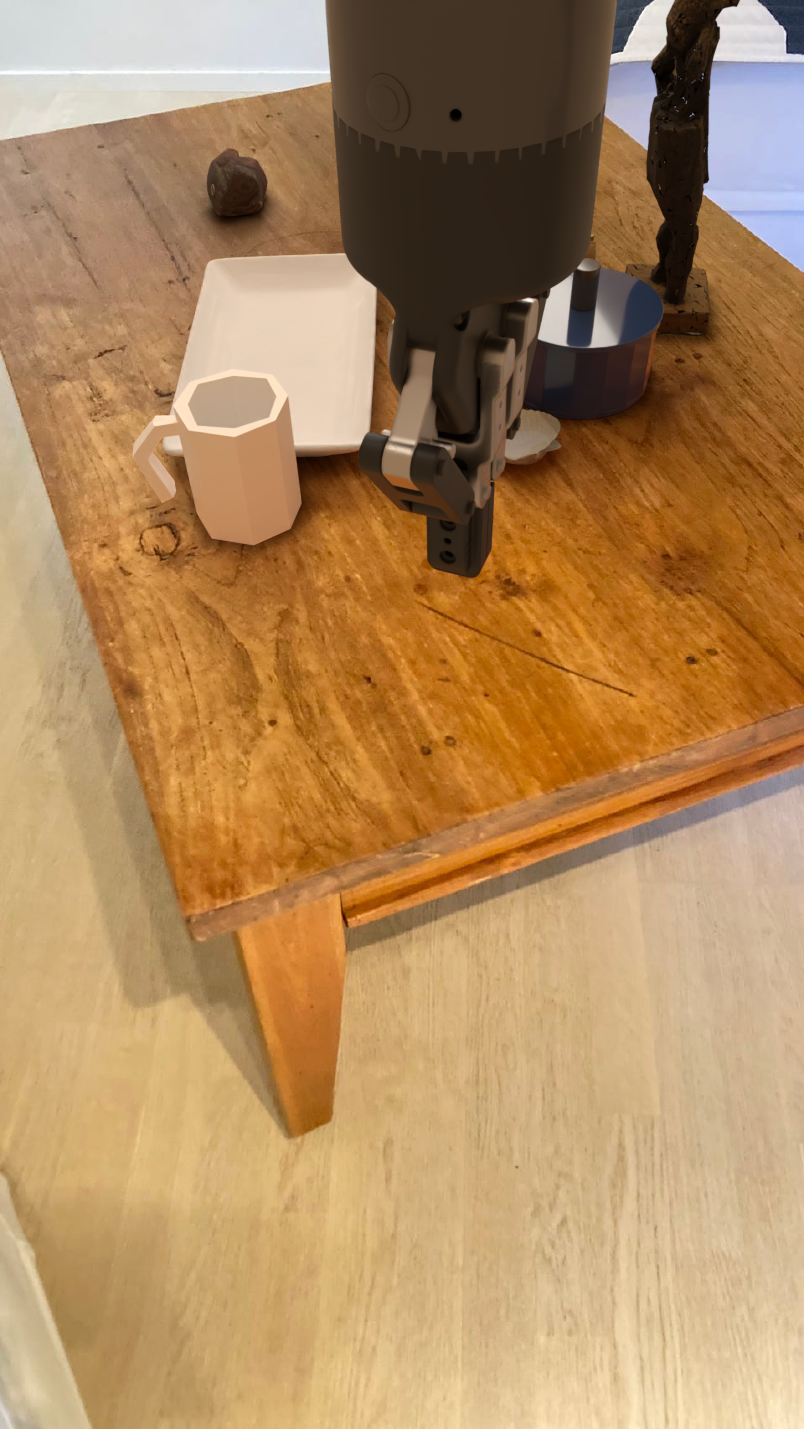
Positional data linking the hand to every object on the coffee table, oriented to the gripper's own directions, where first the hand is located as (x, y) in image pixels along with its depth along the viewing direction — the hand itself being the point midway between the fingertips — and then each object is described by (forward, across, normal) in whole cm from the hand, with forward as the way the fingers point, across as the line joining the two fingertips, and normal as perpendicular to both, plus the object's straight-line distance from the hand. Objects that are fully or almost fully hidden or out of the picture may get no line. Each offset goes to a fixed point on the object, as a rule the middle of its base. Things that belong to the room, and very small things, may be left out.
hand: (459, 561), depth 42 cm
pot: (+25, +53, +7) cm, 59 cm away
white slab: (+25, +45, +32) cm, 61 cm away
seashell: (+25, +41, +9) cm, 49 cm away
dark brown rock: (+25, +74, +51) cm, 93 cm away
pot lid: (+18, +53, +7) cm, 56 cm away
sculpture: (+25, +67, +2) cm, 71 cm away
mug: (+25, +26, +28) cm, 46 cm away
